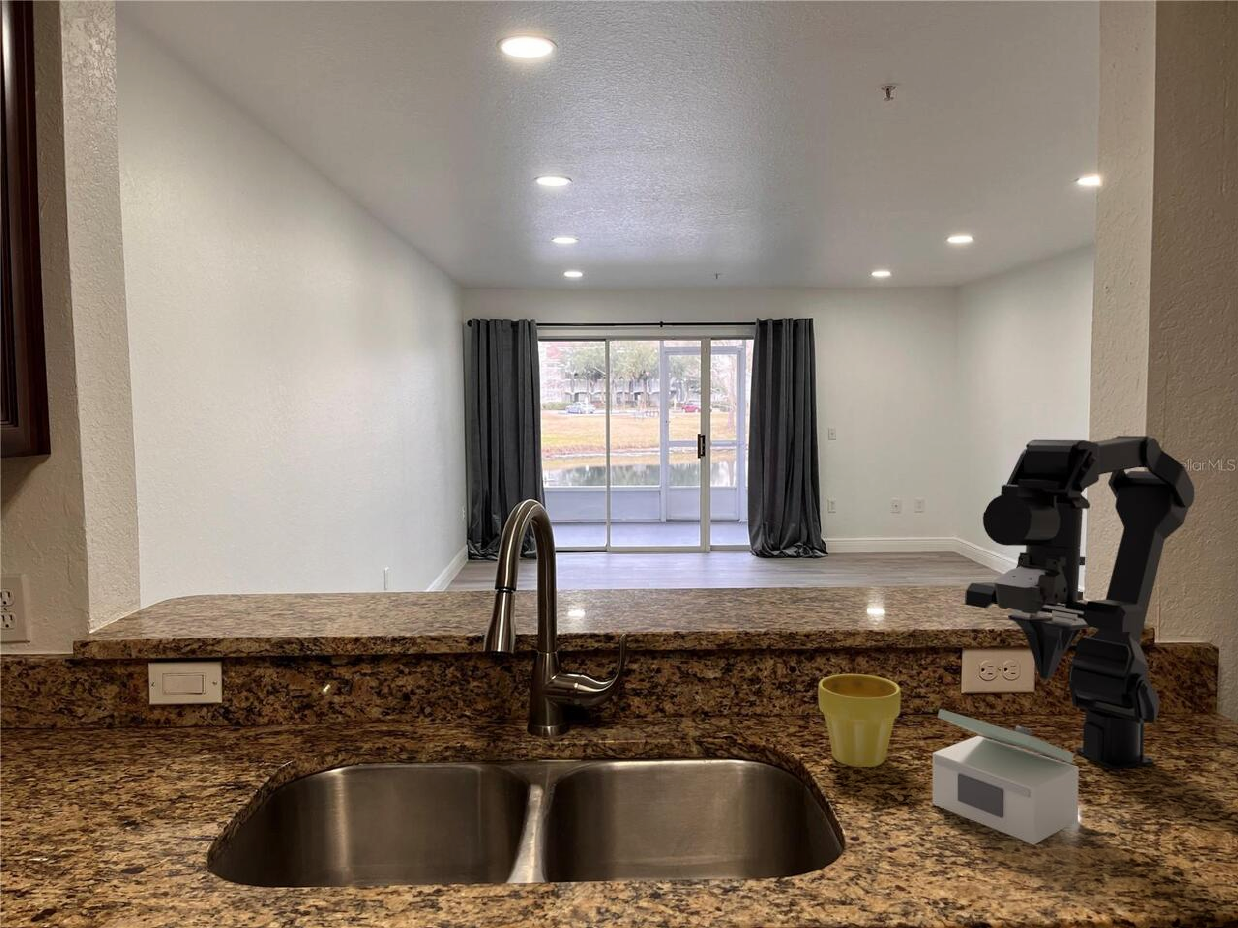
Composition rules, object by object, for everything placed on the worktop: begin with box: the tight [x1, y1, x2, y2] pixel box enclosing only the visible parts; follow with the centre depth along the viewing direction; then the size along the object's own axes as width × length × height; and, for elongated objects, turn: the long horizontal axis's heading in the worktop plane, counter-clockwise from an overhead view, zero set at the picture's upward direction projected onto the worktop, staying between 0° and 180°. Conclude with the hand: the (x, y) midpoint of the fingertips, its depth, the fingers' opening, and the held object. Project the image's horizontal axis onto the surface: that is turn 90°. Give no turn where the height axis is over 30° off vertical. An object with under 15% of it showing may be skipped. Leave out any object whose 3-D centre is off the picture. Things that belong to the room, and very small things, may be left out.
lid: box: [937, 708, 1075, 764], centre depth 97 cm, size 10×11×2 cm
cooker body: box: [932, 735, 1079, 846], centre depth 97 cm, size 9×12×6 cm
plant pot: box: [817, 673, 902, 768], centre depth 113 cm, size 10×10×10 cm
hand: (1045, 678), depth 102 cm, fingers closed
